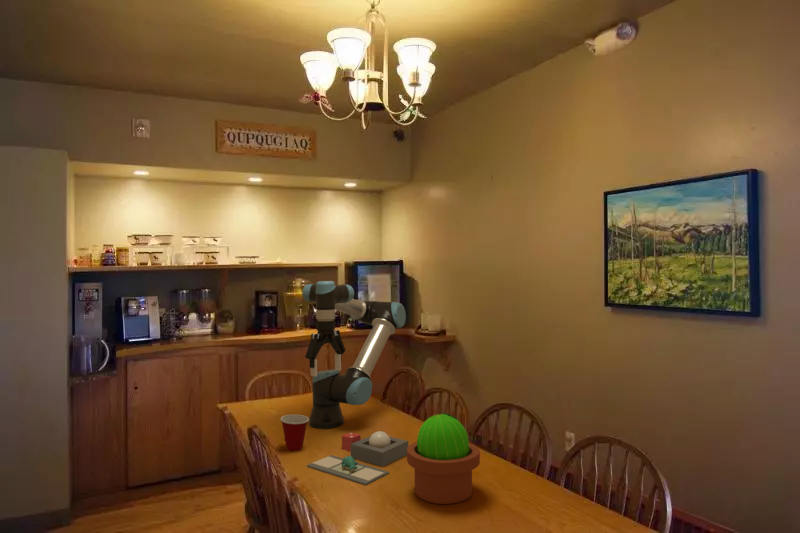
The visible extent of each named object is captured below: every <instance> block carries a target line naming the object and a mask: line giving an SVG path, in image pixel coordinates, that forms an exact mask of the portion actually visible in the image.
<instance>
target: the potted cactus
mask: <svg viewBox="0 0 800 533" xmlns="http://www.w3.org/2000/svg"><path fill="white" fill-rule="evenodd" d="M440 413H441V414H439V413H437V414H436V415H435V414H434V415H431V416H429V417H428V418H427V420H426V419H425V421H424V422H423V421H422V424H421V426H420V428H419V430H418V432H416V433H417V435H415V437H417V438H416V441H415V442H412V443H410V444H408V447H407V455H406V463H407V464H408V465H409V466H410V467H411V468H412V469H414V492H415V494H416V496H418V498H420V499H421V500H423V501H425V502H428V503H431V504H436V505H451V504H452V505H453V504H457V503H461V502H464V501H466V500H468V499H469V498H471V496H472V495H473V494H472V493H473V470H475V469H476V468H478V467H479V466H480V463H481V462H480V461H481V453H480V451H481V450H480V449H479V447H477V446H476V445H475V444H474V443H472V442H470V440H469V439H470V435H469V434H468V432H467V429H466V428H465V427H464V424H462V423H461V422H460V420H459V418H457V417H455V416H453V415H451V414H450V413H447V412H445V411H444V412H443V411H441V412H440Z"/></svg>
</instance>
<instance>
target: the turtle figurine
mask: <svg viewBox="0 0 800 533" xmlns="http://www.w3.org/2000/svg"><path fill="white" fill-rule="evenodd" d="M358 463H359V462H358V461H356V459H354V458H353V457H351V455H348V456H347V455H346V456H345V457H343V460H342V468H344V469H347V470H351V471H352V470H357V469H358V468H357V465H358Z"/></svg>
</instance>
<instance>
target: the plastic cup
mask: <svg viewBox="0 0 800 533" xmlns="http://www.w3.org/2000/svg"><path fill="white" fill-rule="evenodd" d="M309 418H310V417H308V416H306V415H303V414H295V413H294V414H286V415H283V416H281V417H280V421H281V425H282V426H281V427H282V430H283V435H284V441H285V445H286V450H287V451H288V452H298V451H301V450H302V449H303V446H304V440H305V435H306V431H307V430H306V429H307V427H308V426H307V425H308V423H309Z"/></svg>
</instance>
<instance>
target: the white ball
mask: <svg viewBox="0 0 800 533" xmlns="http://www.w3.org/2000/svg"><path fill="white" fill-rule="evenodd" d="M370 436H371V437H370V439H369V445H370V446H374V447H377V448H381V449H382V448H384V447H386V446H388V445H390V444H391V441H390V438H389V435H388V434H387V433H386V432H385V431H382V430H379V431H375V432H373V433H372V434H371V435H370Z"/></svg>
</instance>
